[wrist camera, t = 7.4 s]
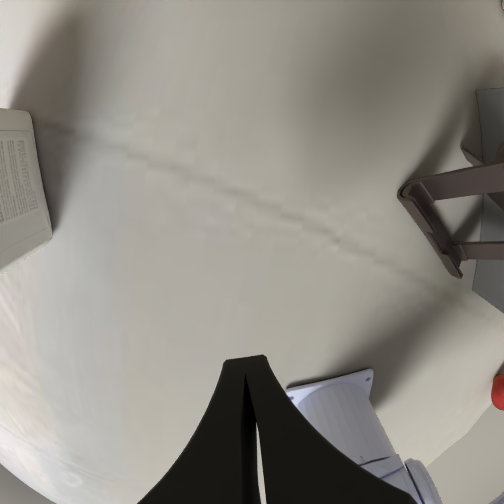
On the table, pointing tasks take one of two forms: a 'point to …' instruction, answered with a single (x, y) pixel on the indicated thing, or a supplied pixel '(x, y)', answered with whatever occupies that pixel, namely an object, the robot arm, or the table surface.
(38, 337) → the table surface
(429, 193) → the portable electronic device stand
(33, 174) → the white labeled box
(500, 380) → the onion
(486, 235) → the charging dock
